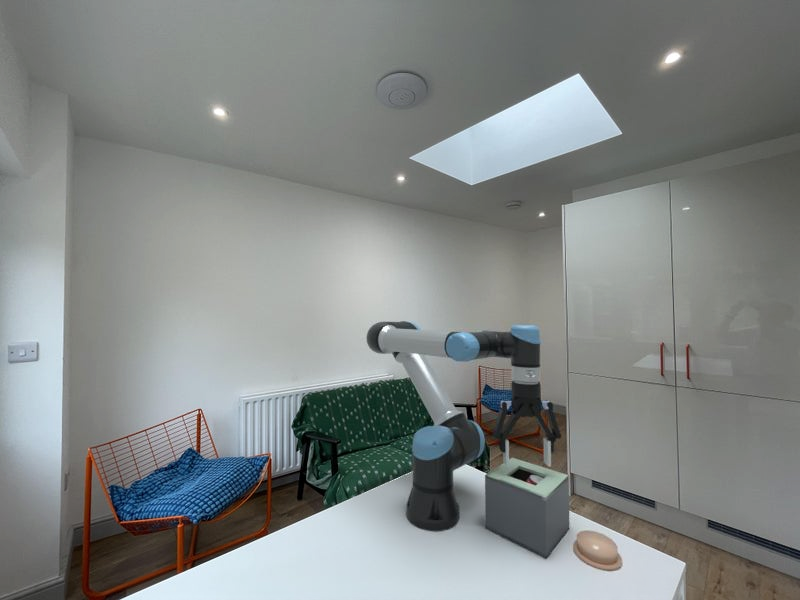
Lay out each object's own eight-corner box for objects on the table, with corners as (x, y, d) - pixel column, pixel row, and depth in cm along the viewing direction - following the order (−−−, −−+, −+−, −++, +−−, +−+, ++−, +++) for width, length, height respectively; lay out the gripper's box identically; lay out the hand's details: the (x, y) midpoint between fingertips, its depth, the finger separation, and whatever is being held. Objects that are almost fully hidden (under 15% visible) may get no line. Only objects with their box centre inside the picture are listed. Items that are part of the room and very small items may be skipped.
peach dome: (567, 556, 80) (567, 541, 80) (580, 536, 87) (580, 523, 87) (616, 579, 73) (615, 563, 73) (626, 556, 80) (625, 541, 80)
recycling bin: (485, 528, 89) (485, 475, 90) (512, 504, 101) (512, 457, 102) (546, 559, 78) (545, 497, 79) (569, 528, 90) (568, 475, 90)
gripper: (487, 384, 88) (488, 470, 87) (574, 384, 88) (576, 470, 87) (480, 378, 95) (480, 458, 94) (560, 379, 95) (562, 458, 94)
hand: (526, 464), depth 90 cm, fingers open, 10 cm apart
